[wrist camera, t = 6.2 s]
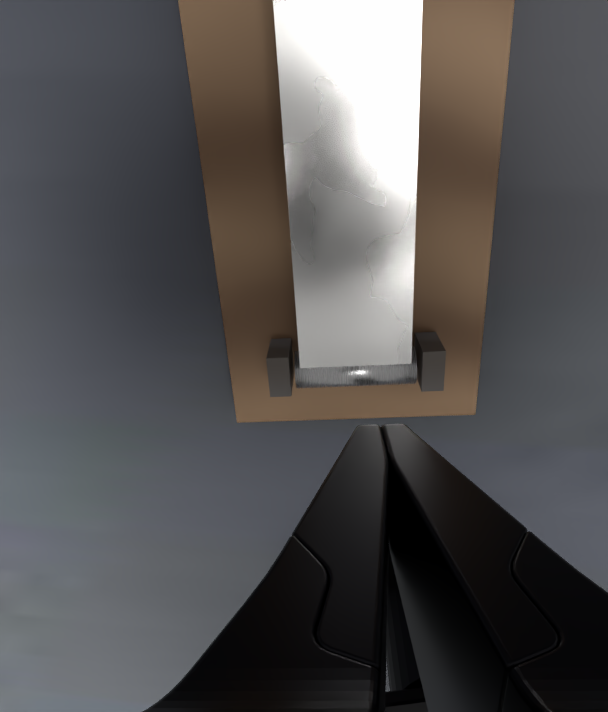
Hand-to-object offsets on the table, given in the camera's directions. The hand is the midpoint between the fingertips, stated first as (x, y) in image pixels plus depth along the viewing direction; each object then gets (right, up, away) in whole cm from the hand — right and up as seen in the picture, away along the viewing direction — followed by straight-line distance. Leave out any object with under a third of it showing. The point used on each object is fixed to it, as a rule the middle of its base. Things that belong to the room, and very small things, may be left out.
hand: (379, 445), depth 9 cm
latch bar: (0, +8, +7) cm, 11 cm away
